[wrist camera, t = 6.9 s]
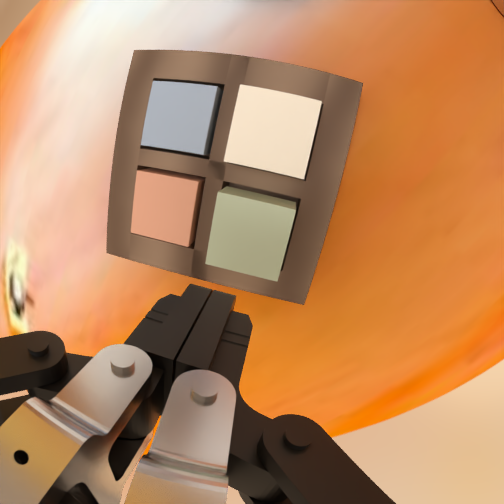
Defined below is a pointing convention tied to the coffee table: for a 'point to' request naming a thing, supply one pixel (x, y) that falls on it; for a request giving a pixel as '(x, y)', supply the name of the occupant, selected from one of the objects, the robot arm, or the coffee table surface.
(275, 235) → the sage key
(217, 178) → the keypad housing
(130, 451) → the robot arm
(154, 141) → the slate key
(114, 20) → the coffee table surface
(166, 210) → the terracotta key
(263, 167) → the cream key
